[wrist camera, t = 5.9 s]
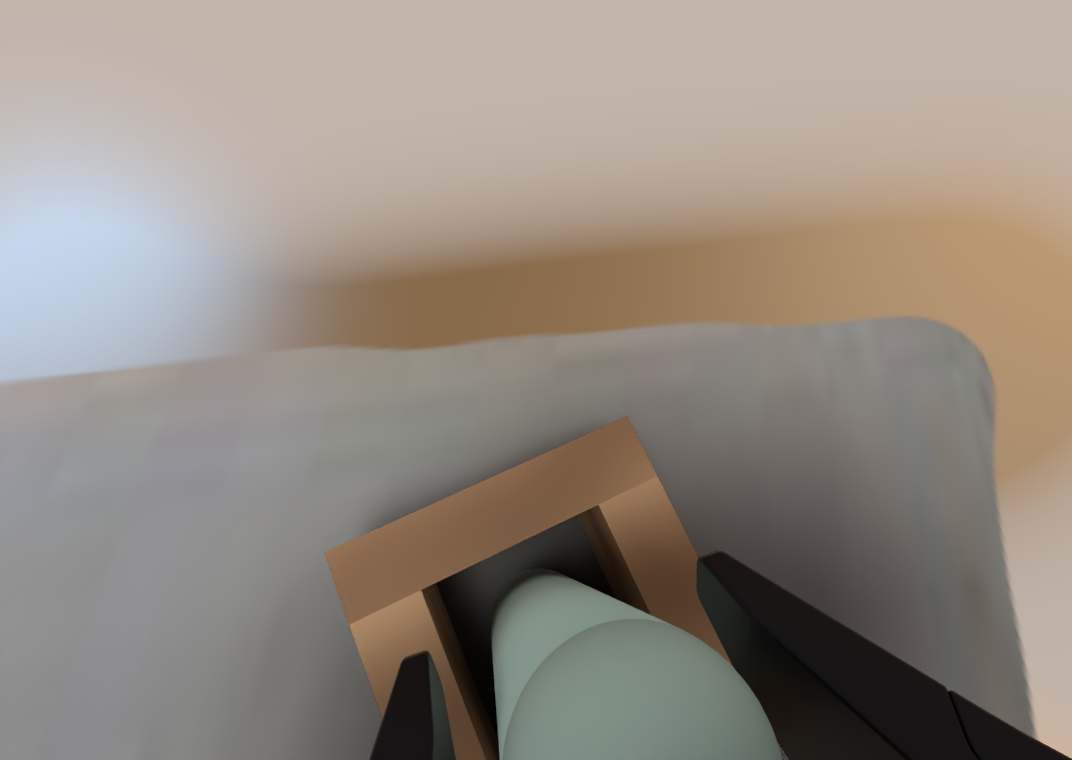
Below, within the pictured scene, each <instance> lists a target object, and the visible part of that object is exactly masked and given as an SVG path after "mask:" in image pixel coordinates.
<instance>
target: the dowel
mask: <svg viewBox="0 0 1072 760" xmlns="http://www.w3.org/2000/svg"><path fill="white" fill-rule="evenodd" d="M490 627H491V642H492V656H493V670H494V684H495V698H496V712H497V726H498V741H499V755H500V760H783V758H782V754H781V750H780V747H779V744H778V741H777V739H776V736H775V734H774V731H773V728H772V726H771V724H770V722H769V720H768V718H767V716H766V714H765V712H764V710H763V708H762V706H761V704H760V702H759V701H758V699H757V698H756V696H755V695H754V693H753V692H752V690H751V689H750V687H749V686H748V684H747V683H746V682H745V681H744V679H743V678H742V677H741V676H740V675H739V674H738V672H737V671H736V670H735V669H734V668H733V666H732V665H731V664H730V663H729V662H728V661H727V660H725V659H724V658H723V657H722V656H721V655H720V654H719V653H718V652H717V651H715V650H714V649H713V648H711V647H710V646H708V645H707V644H706V643H704V642H703V641H701V640H700V639H698V638H697V637H695V636H693V635H691V634H689V633H688V632H686V631H684V630H682V629H680V628H678V627H676V626H673V625H671V624H669V623H667V622H665V621H662V620H660V619H658V618H656V617H654V616H652V615H649V614H647V613H645V612H643V611H641V610H639V609H636V608H634V607H632V606H630V605H628V604H626V603H623V602H621V601H619V600H617V599H615V598H612V597H610V596H608V595H606V594H604V593H602V592H599V591H597V590H595V589H593V588H591V587H589V586H586V585H584V584H582V583H580V582H578V581H576V580H573V579H571V578H569V577H567V576H565V575H562V574H560V573H558V572H556V571H553V570H549V569H542V568H537V569H530V570H526V571H523V572H520V573H519V574H517V575H515V576H513V577H512V578H511V579H509V580H508V581H507V582H506V583H505V584H504V585H503V587H502V588H501V589H500V591H499V592H498V594H497V596H496V598H495V600H494V603H493V606H492V610H491V617H490Z"/></svg>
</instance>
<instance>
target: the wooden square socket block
mask: <svg viewBox="0 0 1072 760" xmlns="http://www.w3.org/2000/svg"><path fill="white" fill-rule="evenodd" d="M576 515H577V516H578V518H579V521H580V523H581V525H582V527H583V529H584V531H585V534H586V536H587V538H588V540H589V542H590V544H591V546H592V549H593V551H594V553H595V555H596V557H597V559H598V562H599V564H600V566H601V568H602V570H603V572H604V575H605V577H606V579H607V581H608V583H609V585H610V587H611V590H612V592H613V594H614V596H615V598H616V599H617V600H619V601H621V602H623V603H626V604H628V605H630V606H632V607H634V608H636V609H639V610H641V611H643V612H645V613H647V614H649V615H652V616H654V617H656V618H658V619H660V620H662V621H665V622H667V623H669V624H671V625H673V626H676V627H678V628H680V629H682V630H684V631H686V632H688V633H689V634H691V635H693V636H695V637H697V638H698V639H700V640H701V641H703V642H704V643H706V644H707V645H708V646H710V647H711V648H713V649H714V650H715V651H717V652H718V653H719V654H720V655H721V656H722V657H723V658H724V659H725V660H727V661H728V662H729V663H730V664H731V662H730V660H729V658H728V656H727V654H726V652H725V650H724V648H723V646H722V644H721V642H720V640H719V638H718V636H717V634H716V632H715V630H714V628H713V626H712V624H711V622H710V620H709V618H708V616H707V614H706V612H705V610H704V608H703V606H702V604H701V602H700V600H699V597H698V594H697V589H696V574H697V560H698V558H699V557H698V555H697V553H696V551H695V549H694V547H693V545H692V543H691V541H690V539H689V537H688V535H687V533H686V531H685V529H684V527H683V525H682V523H681V522H680V520H679V518H678V516H677V514H676V512H675V510H674V508H673V506H672V504H671V502H670V500H669V498H668V496H667V494H666V492H665V490H664V488H663V486H662V484H661V482H660V480H659V478H658V476H657V474H656V472H655V470H654V468H653V466H652V464H651V462H650V460H649V458H648V456H647V454H646V452H645V450H644V448H643V447H642V445H641V443H640V441H639V439H638V437H637V435H636V433H635V431H634V429H633V427H632V425H631V423H630V421H629V419H628V417H627V416H626V417H624V418H622V419H620V420H617V421H615V422H613V423H611V424H608V425H606V426H604V427H602V428H600V429H597V430H595V431H593V432H591V433H589V434H586V435H584V436H582V437H580V438H577V439H575V440H573V441H571V442H569V443H566V444H564V445H562V446H560V447H557V448H555V449H553V450H551V451H549V452H546V453H544V454H542V455H540V456H537V457H535V458H533V459H531V460H529V461H526V462H524V463H522V464H520V465H517V466H515V467H513V468H511V469H509V470H506V471H504V472H502V473H500V474H497V475H495V476H493V477H491V478H489V479H486V480H484V481H482V482H480V483H478V484H475V485H473V486H471V487H469V488H466V489H464V490H462V491H460V492H458V493H455V494H453V495H451V496H449V497H446V498H444V499H442V500H440V501H438V502H435V503H433V504H431V505H429V506H426V507H424V508H422V509H420V510H418V511H415V512H413V513H411V514H409V515H406V516H404V517H402V518H400V519H398V520H395V521H393V522H391V523H389V524H386V525H384V526H382V527H380V528H378V529H375V530H373V531H371V532H369V533H367V534H364V535H362V536H360V537H358V538H355V539H353V540H351V541H349V542H347V543H344V544H342V545H340V546H338V547H335V548H333V549H331V550H329V551H327V552H324V554H325V556H326V559H327V562H328V565H329V568H330V571H331V574H332V577H333V579H334V582H335V585H336V588H337V591H338V594H339V597H340V599H341V602H342V605H343V608H344V611H345V614H346V617H347V620H348V622H349V625H350V628H351V631H352V634H353V637H354V640H355V642H356V645H357V648H358V651H359V654H360V657H361V660H362V663H363V665H364V668H365V671H366V674H367V677H368V680H369V683H370V686H371V688H372V691H373V694H374V697H375V700H376V703H377V706H378V708H379V711H380V714H381V717H382V719H383V716H384V713H385V710H386V706H387V703H388V700H389V697H390V694H391V691H392V688H393V685H394V682H395V679H396V675H397V672H398V669H399V666H400V664H401V662H402V660H403V659H404V658H405V657H406V656H409V655H412V654H415V653H418V652H421V651H424V650H427V651H428V652H429V653H430V654H431V657H432V659H433V662H434V664H435V667H436V669H437V672H438V674H439V677H440V679H441V683H442V686H443V691H444V696H445V701H446V707H447V712H448V718H449V724H450V729H451V735H452V740H453V746H454V752H455V757H456V760H500V755H499V741H498V740H497V737H496V735H495V732H494V730H493V727H492V725H491V722H490V719H489V717H488V714H487V712H486V709H485V707H484V704H483V702H482V699H481V696H480V694H479V691H478V689H477V686H476V684H475V681H474V679H473V676H472V673H471V671H470V668H469V666H468V663H467V661H466V658H465V656H464V653H463V650H462V648H461V645H460V643H459V640H458V638H457V635H456V633H455V630H454V627H453V625H452V622H451V620H450V617H449V615H448V612H447V610H446V607H445V604H444V602H443V599H442V597H441V594H440V592H439V589H438V587H437V584H436V583H437V582H439V581H441V580H443V579H445V578H447V577H449V576H451V575H453V574H455V573H457V572H460V571H462V570H464V569H466V568H468V567H470V566H472V565H474V564H476V563H478V562H480V561H482V560H484V559H487V558H489V557H491V556H493V555H495V554H497V553H499V552H501V551H503V550H505V549H507V548H509V547H511V546H514V545H516V544H518V543H520V542H522V541H524V540H526V539H528V538H530V537H532V536H534V535H536V534H538V533H540V532H543V531H545V530H547V529H549V528H551V527H553V526H555V525H557V524H559V523H561V522H563V521H565V520H567V519H570V518H572V517H574V516H576ZM731 665H732V664H731Z"/></svg>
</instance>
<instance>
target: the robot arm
mask: <svg viewBox="0 0 1072 760" xmlns="http://www.w3.org/2000/svg"><path fill="white" fill-rule="evenodd" d="M696 589H697V594H698V597H699V600H700V602H701V604H702V606H703V608H704V610H705V612H706V614H707V616H708V618H709V620H710V622H711V624H712V626H713V628H714V630H715V632H716V634H717V636H718V638H719V640H720V642H721V644H722V646H723V648H724V650H725V652H726V654H727V656H728V658H729V660H730V662H731V664H732V666H733V668H734V669H735V670H736V671H737V672H738V674H739V675H740V676H741V677H742V678H743V679H744V681H745V682H746V683H747V684H748V686H749V687H750V689H751V690H752V692H753V693H754V695H755V696H756V698H757V699H758V701H759V702H760V704H761V706H762V708H763V710H764V712H765V714H766V716H767V718H768V720H769V722H770V724H771V726H772V728H773V731H774V734H775V736H776V739H777V741H778V743H779V744H780V746H781V748H782V749H783V751H784V752H785V754H786V755H787V757H788V759H789V760H1072V759H1071V758H1069V757H1067V756H1065V755H1064V754H1062V753H1060V752H1058V751H1056V750H1054V749H1052V748H1051V747H1049V746H1047V745H1045V744H1043V743H1041V742H1040V741H1038V740H1036V739H1034V738H1032V737H1030V736H1028V735H1027V734H1025V733H1023V732H1022V731H1020V730H1018V729H1016V728H1015V727H1013V726H1011V725H1010V724H1008V723H1006V722H1004V721H1003V720H1001V719H999V718H998V717H996V716H994V715H992V714H991V713H989V712H987V711H985V710H984V709H982V708H980V707H979V706H977V705H975V704H974V703H972V702H970V701H969V700H967V699H966V698H964V697H962V696H961V695H959V694H957V693H956V692H954V691H952V690H950V691H948V690H947V688H946V687H945V686H944V685H942V684H940V683H939V682H937V681H935V680H934V679H932V678H931V677H929V676H927V675H926V674H924V673H922V672H921V671H919V670H917V669H916V668H914V667H912V666H911V665H909V664H907V663H906V662H904V661H902V660H901V659H899V658H898V657H896V656H894V655H893V654H891V653H889V652H888V651H886V650H884V649H883V648H881V647H879V646H878V645H876V644H874V643H873V642H871V641H869V640H868V639H866V638H865V637H863V636H861V635H860V634H858V633H856V632H855V631H853V630H851V629H850V628H848V627H846V626H845V625H843V624H841V623H840V622H838V621H836V620H835V619H833V618H832V617H830V616H828V615H827V614H825V613H823V612H822V611H820V610H818V609H817V608H815V607H813V606H812V605H810V604H808V603H807V602H805V601H804V600H802V599H800V598H799V597H797V596H795V595H794V594H792V593H790V592H789V591H787V590H785V589H784V588H782V587H780V586H779V585H777V584H775V583H774V582H772V581H771V580H769V579H767V578H766V577H764V576H762V575H761V574H759V573H757V572H756V571H754V570H752V569H751V568H749V567H747V566H746V565H744V564H742V563H741V562H739V561H738V560H736V559H734V558H733V557H731V556H729V555H728V554H726V553H724V552H722V551H714V552H711V553H708V554H705V555H702V556H700V557H699V558H698V560H697V574H696ZM369 760H456V757H455V752H454V746H453V740H452V735H451V729H450V724H449V718H448V712H447V707H446V701H445V696H444V691H443V686H442V683H441V679H440V677H439V674H438V672H437V669H436V667H435V664H434V662H433V659H432V657H431V654H430V653H429V652H428V651H427V650H424V651H421V652H418V653H415V654H412V655H409V656H406V657H405V658H404V659H403V660H402V662H401V664H400V666H399V669H398V672H397V675H396V679H395V682H394V685H393V688H392V691H391V694H390V697H389V700H388V703H387V706H386V710H385V713H384V716H383V719H382V722H381V725H380V728H379V731H378V734H377V737H376V740H375V744H374V747H373V750H372V753H371V756H370V759H369Z"/></svg>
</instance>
